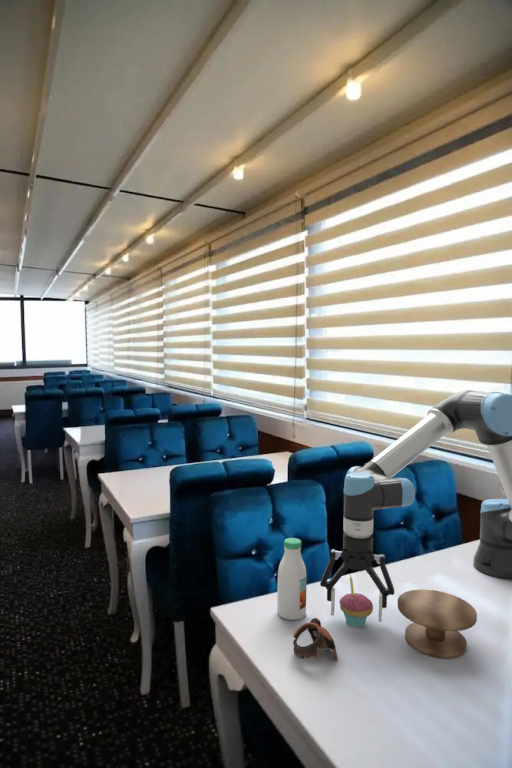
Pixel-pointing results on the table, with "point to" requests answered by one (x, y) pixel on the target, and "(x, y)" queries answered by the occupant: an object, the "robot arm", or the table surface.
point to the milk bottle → (291, 582)
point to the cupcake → (355, 607)
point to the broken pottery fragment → (314, 640)
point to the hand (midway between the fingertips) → (356, 616)
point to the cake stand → (436, 622)
